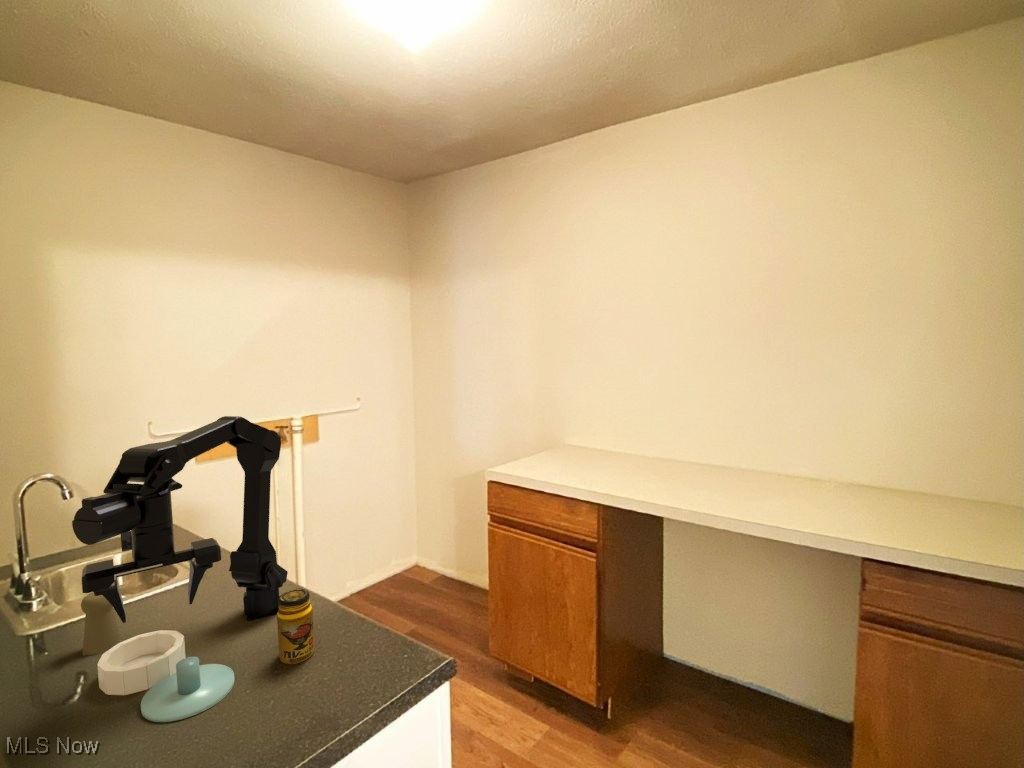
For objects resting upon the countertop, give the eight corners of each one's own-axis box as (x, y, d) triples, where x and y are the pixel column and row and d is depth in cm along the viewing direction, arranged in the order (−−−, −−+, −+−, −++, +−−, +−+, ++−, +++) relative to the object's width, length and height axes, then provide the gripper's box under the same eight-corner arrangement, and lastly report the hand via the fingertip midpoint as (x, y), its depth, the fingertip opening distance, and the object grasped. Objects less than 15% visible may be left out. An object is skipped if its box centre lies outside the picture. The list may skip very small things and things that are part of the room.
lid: (236, 660, 93) (234, 632, 92) (232, 705, 81) (230, 673, 81) (150, 682, 87) (147, 652, 87) (132, 733, 75) (129, 699, 75)
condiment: (299, 672, 90) (295, 606, 89) (260, 663, 92) (256, 599, 92) (326, 648, 97) (323, 587, 96) (289, 641, 99) (286, 581, 98)
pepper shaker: (100, 659, 95) (95, 601, 94) (73, 655, 96) (68, 599, 95) (130, 640, 101) (126, 586, 100) (105, 637, 102) (100, 584, 101)
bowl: (188, 646, 98) (187, 624, 98) (179, 683, 87) (177, 658, 87) (111, 664, 93) (109, 641, 93) (91, 706, 82) (89, 679, 82)
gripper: (208, 500, 97) (213, 579, 98) (80, 522, 86) (88, 612, 87) (219, 514, 89) (224, 601, 90) (78, 541, 77) (86, 640, 78)
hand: (158, 612), depth 86 cm, fingers open, 9 cm apart
